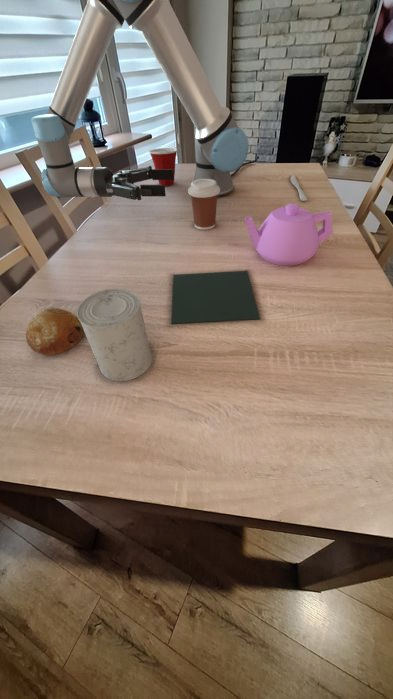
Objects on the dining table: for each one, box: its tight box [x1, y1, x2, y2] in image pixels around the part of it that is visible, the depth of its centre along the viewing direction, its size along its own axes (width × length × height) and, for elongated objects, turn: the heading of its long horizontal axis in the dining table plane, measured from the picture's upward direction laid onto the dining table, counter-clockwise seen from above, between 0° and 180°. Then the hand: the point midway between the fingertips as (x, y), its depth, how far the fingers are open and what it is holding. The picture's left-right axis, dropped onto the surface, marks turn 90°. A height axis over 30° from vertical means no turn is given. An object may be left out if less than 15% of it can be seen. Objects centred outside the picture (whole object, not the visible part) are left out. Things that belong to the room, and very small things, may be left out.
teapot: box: [243, 202, 334, 267], centre depth 74 cm, size 22×16×12 cm
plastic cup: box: [148, 147, 178, 187], centre depth 117 cm, size 11×11×12 cm
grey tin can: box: [76, 288, 153, 382], centre depth 50 cm, size 10×10×12 cm
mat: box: [170, 270, 261, 325], centre depth 67 cm, size 18×18×1 cm
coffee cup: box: [187, 179, 220, 231], centre depth 89 cm, size 9×9×12 cm
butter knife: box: [290, 175, 308, 202], centre depth 111 cm, size 1×27×3 cm
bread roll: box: [25, 306, 84, 356], centre depth 58 cm, size 10×10×8 cm
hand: (169, 182), depth 85 cm, fingers open, 13 cm apart
